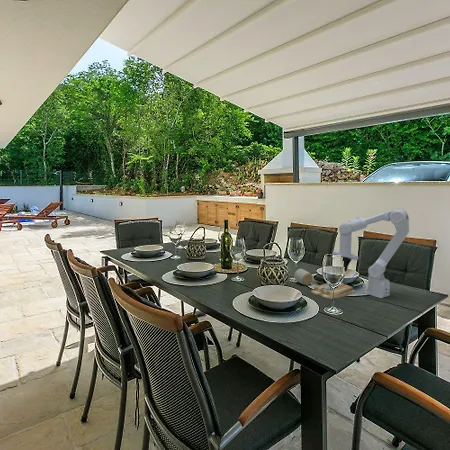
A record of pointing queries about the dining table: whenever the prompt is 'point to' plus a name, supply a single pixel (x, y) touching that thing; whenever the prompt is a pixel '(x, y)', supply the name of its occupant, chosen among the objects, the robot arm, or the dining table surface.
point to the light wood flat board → (329, 294)
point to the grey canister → (303, 277)
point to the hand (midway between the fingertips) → (344, 271)
